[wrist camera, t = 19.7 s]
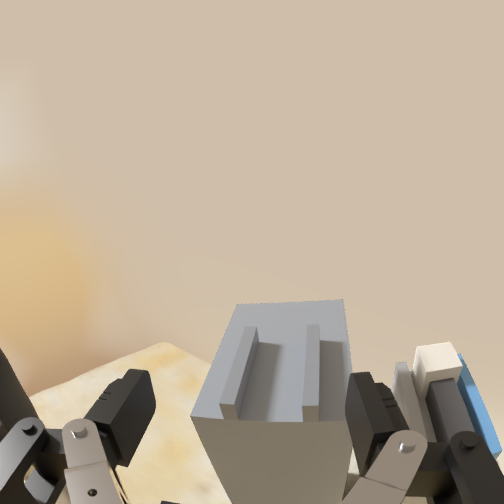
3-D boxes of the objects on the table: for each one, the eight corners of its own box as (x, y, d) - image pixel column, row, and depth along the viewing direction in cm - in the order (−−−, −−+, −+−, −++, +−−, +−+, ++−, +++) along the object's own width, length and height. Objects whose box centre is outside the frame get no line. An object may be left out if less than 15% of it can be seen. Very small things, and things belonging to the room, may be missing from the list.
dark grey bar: (494, 544, 9) (520, 527, 7) (448, 561, 10) (470, 547, 8) (443, 369, 29) (450, 341, 27) (411, 374, 30) (416, 346, 28)
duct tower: (329, 547, 27) (358, 403, 15) (256, 545, 29) (183, 400, 17) (333, 471, 39) (342, 284, 28) (270, 471, 42) (234, 290, 30)
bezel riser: (428, 534, 24) (502, 450, 16) (373, 543, 25) (420, 472, 17) (418, 461, 37) (460, 353, 28) (371, 468, 38) (395, 362, 30)
